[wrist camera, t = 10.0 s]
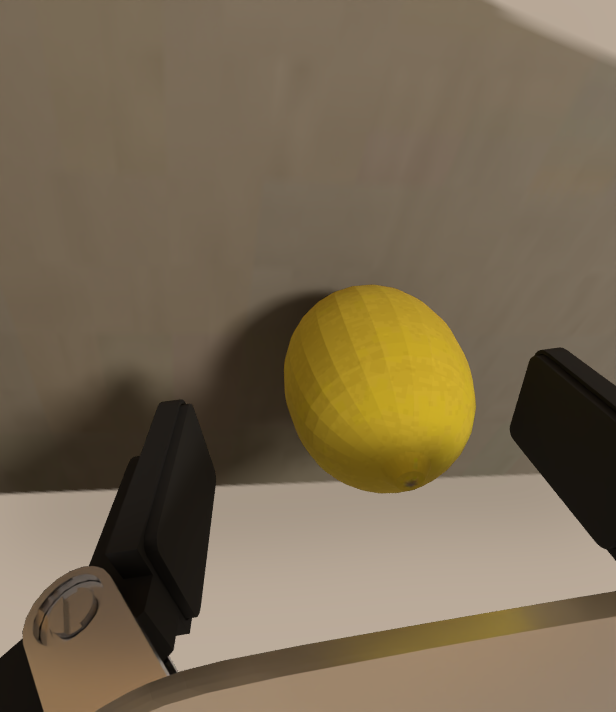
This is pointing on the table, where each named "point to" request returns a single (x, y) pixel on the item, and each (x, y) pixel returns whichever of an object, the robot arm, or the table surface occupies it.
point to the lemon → (378, 389)
